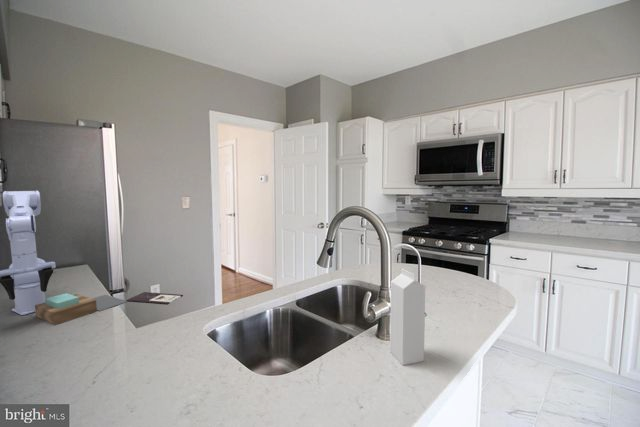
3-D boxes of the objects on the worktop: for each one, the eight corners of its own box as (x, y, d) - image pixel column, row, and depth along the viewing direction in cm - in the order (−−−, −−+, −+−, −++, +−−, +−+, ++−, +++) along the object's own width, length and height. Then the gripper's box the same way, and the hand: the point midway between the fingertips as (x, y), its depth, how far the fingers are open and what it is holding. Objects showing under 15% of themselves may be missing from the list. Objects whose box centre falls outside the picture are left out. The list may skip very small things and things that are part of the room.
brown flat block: (36, 316, 103) (34, 305, 103) (77, 304, 114) (76, 294, 114) (54, 325, 97) (53, 312, 96) (97, 311, 107) (96, 300, 107)
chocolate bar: (144, 292, 125) (182, 294, 121) (144, 294, 125) (183, 297, 121) (126, 300, 116) (167, 303, 112) (126, 302, 116) (167, 305, 112)
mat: (77, 303, 115) (77, 302, 115) (105, 295, 123) (105, 294, 123) (99, 311, 107) (99, 310, 107) (127, 302, 115) (127, 301, 115)
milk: (402, 365, 72) (403, 275, 70) (389, 352, 78) (390, 268, 76) (424, 361, 74) (425, 273, 72) (410, 348, 80) (411, 266, 78)
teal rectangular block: (45, 304, 104) (45, 298, 103) (66, 298, 109) (66, 293, 109) (57, 309, 99) (57, 303, 99) (79, 302, 105) (78, 297, 104)
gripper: (-4, 259, 88) (1, 305, 89) (58, 250, 101) (62, 289, 102) (-12, 257, 91) (-7, 301, 93) (48, 248, 104) (52, 286, 105)
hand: (28, 295), depth 98 cm, fingers open, 7 cm apart
